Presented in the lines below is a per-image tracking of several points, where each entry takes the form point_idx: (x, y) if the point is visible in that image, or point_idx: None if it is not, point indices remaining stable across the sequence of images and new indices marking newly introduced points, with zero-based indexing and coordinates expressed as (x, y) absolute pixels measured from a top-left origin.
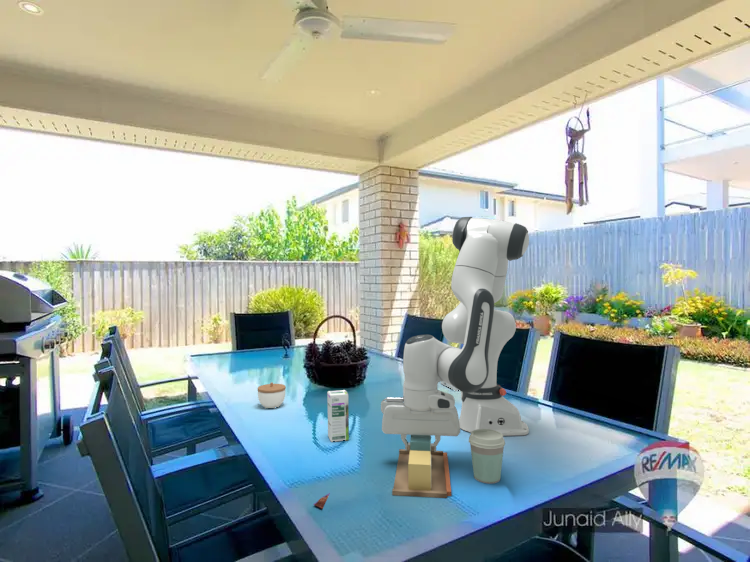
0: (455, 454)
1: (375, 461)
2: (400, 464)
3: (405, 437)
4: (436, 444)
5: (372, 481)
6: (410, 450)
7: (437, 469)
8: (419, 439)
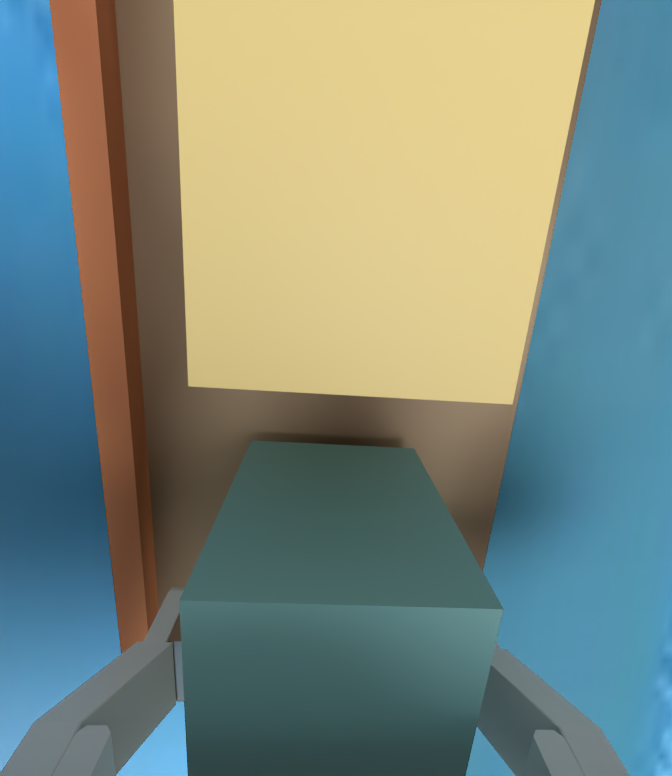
0: None
1: (600, 590)
2: (473, 507)
3: (547, 744)
4: (132, 657)
5: (667, 318)
6: (503, 397)
7: (201, 443)
8: (347, 701)
